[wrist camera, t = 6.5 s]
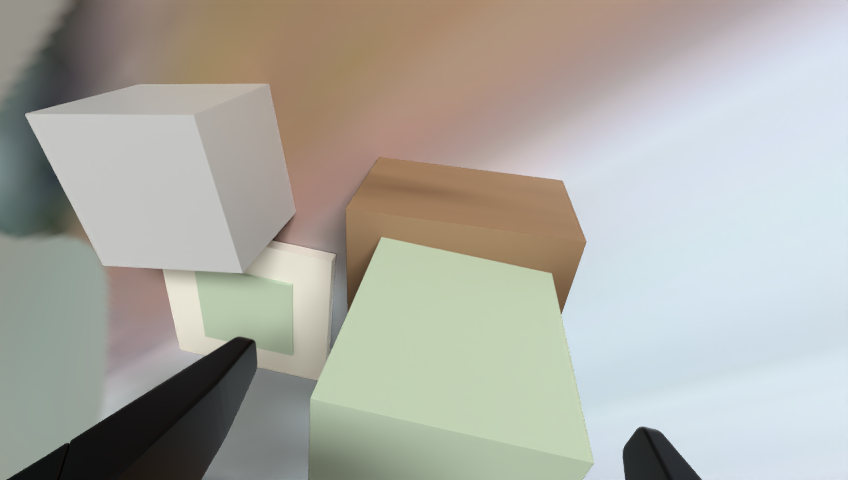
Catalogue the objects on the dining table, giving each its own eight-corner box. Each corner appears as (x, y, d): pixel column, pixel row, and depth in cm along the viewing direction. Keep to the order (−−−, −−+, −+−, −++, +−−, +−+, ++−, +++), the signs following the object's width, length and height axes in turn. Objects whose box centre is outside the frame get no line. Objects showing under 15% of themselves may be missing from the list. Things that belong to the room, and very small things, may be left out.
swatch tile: (328, 373, 19) (323, 385, 19) (186, 342, 20) (178, 352, 19) (336, 254, 16) (330, 263, 15) (161, 216, 16) (149, 224, 15)
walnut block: (522, 316, 16) (531, 399, 13) (376, 293, 17) (348, 369, 14) (561, 177, 13) (586, 241, 10) (380, 155, 14) (345, 208, 10)
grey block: (297, 211, 15) (242, 273, 12) (185, 207, 16) (102, 265, 12) (270, 82, 13) (193, 114, 9) (141, 83, 13) (24, 113, 10)
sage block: (505, 385, 13) (512, 577, 9) (366, 354, 13) (306, 529, 9) (551, 273, 11) (594, 463, 6) (381, 236, 11) (309, 398, 6)
